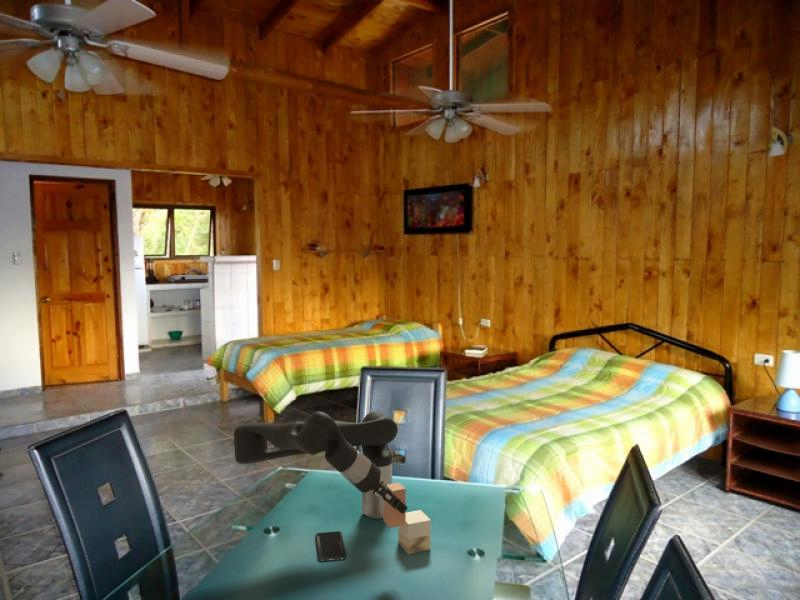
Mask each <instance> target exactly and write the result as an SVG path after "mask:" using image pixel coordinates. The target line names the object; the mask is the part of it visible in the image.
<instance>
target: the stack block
mask: <svg viewBox="0 0 800 600" xmlns="http://www.w3.org/2000/svg"><path fill="white" fill-rule="evenodd" d="M387 486H388V487H389V488H390V489H391V490H392V491H393V492H394V495H395V496H396V497H397V498H399V499H400V501H401V502H402V503H403V504H405V505H406V506H407V504H406V494H407V493H406V492H407V490H406V487H404V486H403V485H402V484H401V483H400V482H392V484H388V485H387ZM384 487H385V486H384ZM385 488H386V487H385ZM386 489H387V488H386ZM387 490H388V489H387ZM406 513H407V510H406V511H405V513H404V514H402V513H401V512H400V511H398V510H397V509H395V508H393V507H392V506H391V505H390V504H389V503H388V502H387V503H385V502H384V505H383V518H382V519H383V522H384V523H385V524H386V526H388V527H389V529H390V528H391V529H393V528H396V527H399V526H402V525H405V519H406Z"/></svg>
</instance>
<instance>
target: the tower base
mask: <svg viewBox="0 0 800 600" xmlns="http://www.w3.org/2000/svg"><path fill="white" fill-rule="evenodd" d="M397 533H398V534H397V535H398V536H397V537H398V538H397V539H398V540H397V541H398V544H399V546H400V547H402V549H403V550H404V551H405V552H406V554H408V555H411V553H412V554H415V553H419V552H423V551H428V550H431V535H428V536H423V537H418V538H413V539H408V538H407V537H406V536H405V535H404V534H403V533H402V532H401V530H400V529H399V528H398V532H397Z"/></svg>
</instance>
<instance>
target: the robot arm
mask: <svg viewBox="0 0 800 600" xmlns="http://www.w3.org/2000/svg"><path fill="white" fill-rule="evenodd" d="M398 431H399V429H398V426H397V423H396V422H395V421H394V420H393V419H392V418H391V417H390V416H388V415H386V414H384V413H382V412H380V411H371V412H368V413H367V414H366V415H365V416H364V418H363V420H362V421H361V422H349V421H341V420H334V419H333V418H332V417H331V416H330V415H329V414H327V413H326V412H323V411H318V410H317V411H314V412H312V413H311V414H310V415H309V416H308V417H307V419H306V421H305V422H303V421H290V422H285V423H273V422H254V423H253V422H252V423H251V422H250V423H245V424H241V425H238V426H237V427H236V428H235V429H234V431H233V443H234V444H233V446H234V458H235V462H236V463H237V464H240V465H249V464H256V463H261V462H262V463H263V462H265V461H271V460H276V459H280V458H285V457H291V456H298V455H301V456H302V455H317V454H319V453H324V459H325V461H326V462H327V463H328V464H329V465H330V466H332V467H333V468H334V469H335V470H336V471H337V472H339V473H340V474H341V475H342V477H343V478H345V480H346V481H348V482H349V483H350V484H351V485H353V486H354V487H355V488H356V489H357V490H358V491H359V492H360V493H361V515H364V516H366V517H368V518H370V519H378V520H379V519H383V505H384V502H385V503H387V502H388V503H389V504H390V505H391V506H392V507H393V508H395V509H397V510H398V511H400V512H401V513H402V514H404V513H405V511H406V512H407V510H408V506H407V504H406V505H405V504H403V503H402V502H401V501H400V499H399V498H397V497H396V496H395V495H394V492H393V491H392V490H391V489H390V488H389V487H388V486H387V485H388V484H393V453H392V452H391V450H390V448H389V446H388V444H390V443H392V442H393V441H394V440H395V439H396V437H397V435H398ZM268 442H269V443H270V444H271V445H272V446H273V447H271V448H269V447H268ZM355 447H361V451H359V450H358V449H357V448H355ZM384 486H385V487H386V488H387V489H388V490H387V489H386V488H385V487H384Z"/></svg>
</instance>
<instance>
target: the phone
mask: <svg viewBox="0 0 800 600" xmlns="http://www.w3.org/2000/svg"><path fill="white" fill-rule="evenodd" d="M343 537H344V536H343V533H342V532H341V531H337V530H336V531H328V532H317V533H316V534H315V542H316V552H318V553H317V560H318V559H319V560H329V559H341V558H345V557H346V558H347V552H346V548H345V543H344V538H343ZM346 558H345V559H346ZM319 560H318V561H319Z"/></svg>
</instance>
